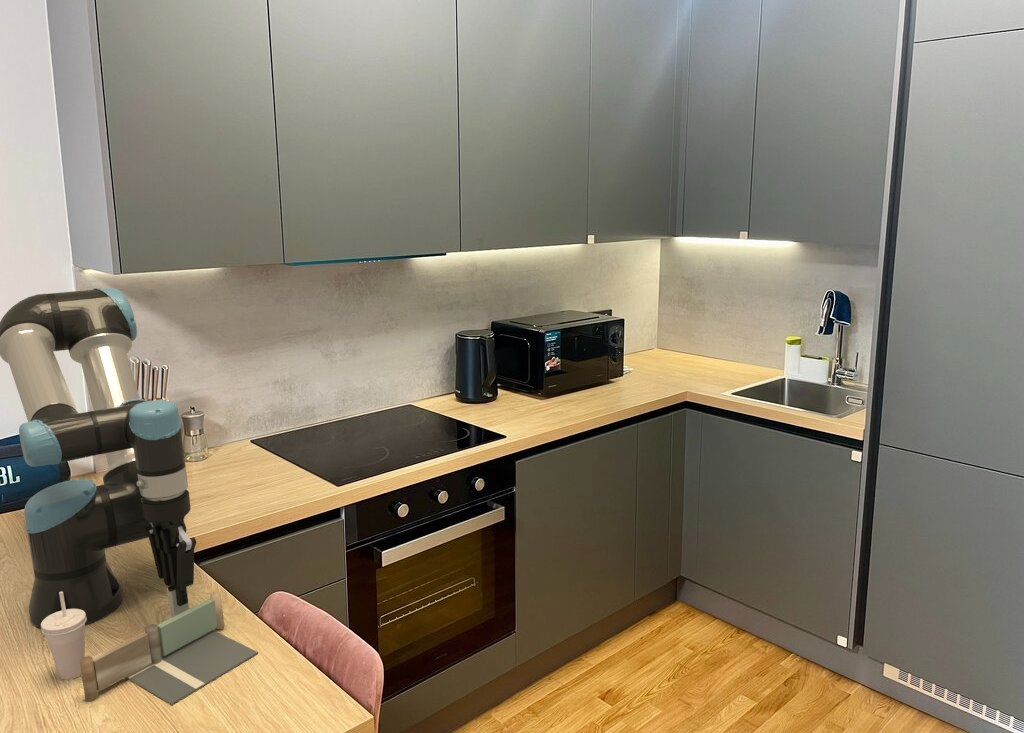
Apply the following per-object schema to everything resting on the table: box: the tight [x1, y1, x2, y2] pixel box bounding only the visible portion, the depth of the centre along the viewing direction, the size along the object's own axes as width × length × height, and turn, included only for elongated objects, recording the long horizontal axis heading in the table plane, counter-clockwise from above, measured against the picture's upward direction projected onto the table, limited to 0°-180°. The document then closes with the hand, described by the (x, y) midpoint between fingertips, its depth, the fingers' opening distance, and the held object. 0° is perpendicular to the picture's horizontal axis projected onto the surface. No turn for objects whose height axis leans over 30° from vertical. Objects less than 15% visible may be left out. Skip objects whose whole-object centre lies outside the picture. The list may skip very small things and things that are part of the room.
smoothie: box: [40, 592, 87, 681], centre depth 130 cm, size 6×6×14 cm
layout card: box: [124, 629, 259, 706], centre depth 135 cm, size 20×16×1 cm
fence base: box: [79, 623, 162, 702], centre depth 129 cm, size 2×13×7 cm, turn 145°
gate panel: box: [156, 591, 225, 656], centre depth 139 cm, size 12×2×6 cm, turn 145°
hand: (180, 618), depth 143 cm, fingers closed
